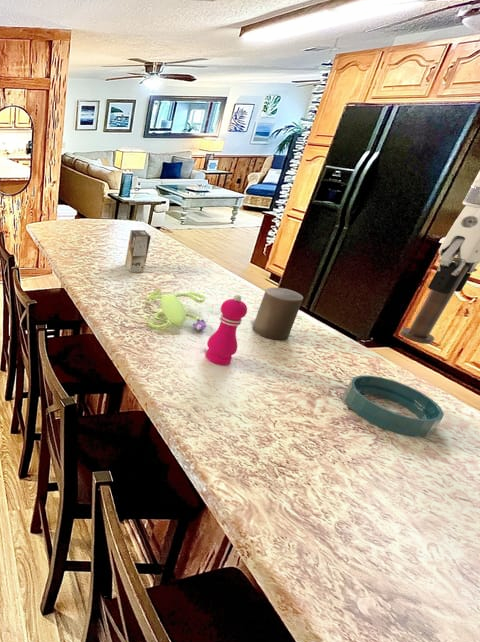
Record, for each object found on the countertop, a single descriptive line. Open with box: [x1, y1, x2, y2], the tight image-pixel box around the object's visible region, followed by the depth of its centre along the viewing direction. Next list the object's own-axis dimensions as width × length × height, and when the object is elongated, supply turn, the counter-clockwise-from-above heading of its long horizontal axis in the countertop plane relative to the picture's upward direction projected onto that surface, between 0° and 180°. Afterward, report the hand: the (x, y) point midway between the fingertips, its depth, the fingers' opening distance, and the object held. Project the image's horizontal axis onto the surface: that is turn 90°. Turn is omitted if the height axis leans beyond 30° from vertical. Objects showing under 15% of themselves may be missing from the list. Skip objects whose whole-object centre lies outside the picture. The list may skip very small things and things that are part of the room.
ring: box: [341, 374, 445, 438], centre depth 88 cm, size 15×15×6 cm
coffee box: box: [124, 229, 152, 273], centre depth 167 cm, size 9×6×16 cm
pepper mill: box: [205, 294, 248, 366], centre depth 104 cm, size 7×7×20 cm
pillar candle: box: [252, 286, 304, 341], centre depth 119 cm, size 10×10×15 cm
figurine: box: [146, 289, 207, 331], centre depth 130 cm, size 18×27×6 cm
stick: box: [400, 261, 469, 345], centre depth 80 cm, size 5×5×17 cm
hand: (444, 289), depth 78 cm, fingers closed on stick, 3 cm apart
